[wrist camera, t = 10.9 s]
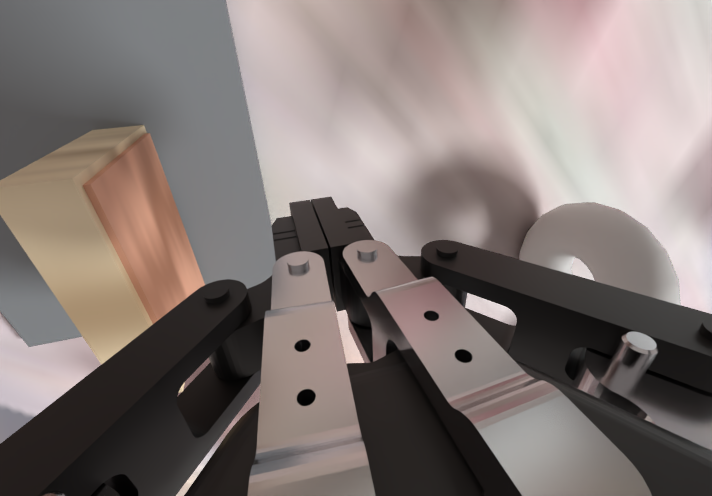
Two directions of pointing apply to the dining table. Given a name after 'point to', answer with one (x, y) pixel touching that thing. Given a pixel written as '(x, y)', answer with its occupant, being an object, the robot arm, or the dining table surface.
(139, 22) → the mat
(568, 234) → the donut
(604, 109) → the dining table surface
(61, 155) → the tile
